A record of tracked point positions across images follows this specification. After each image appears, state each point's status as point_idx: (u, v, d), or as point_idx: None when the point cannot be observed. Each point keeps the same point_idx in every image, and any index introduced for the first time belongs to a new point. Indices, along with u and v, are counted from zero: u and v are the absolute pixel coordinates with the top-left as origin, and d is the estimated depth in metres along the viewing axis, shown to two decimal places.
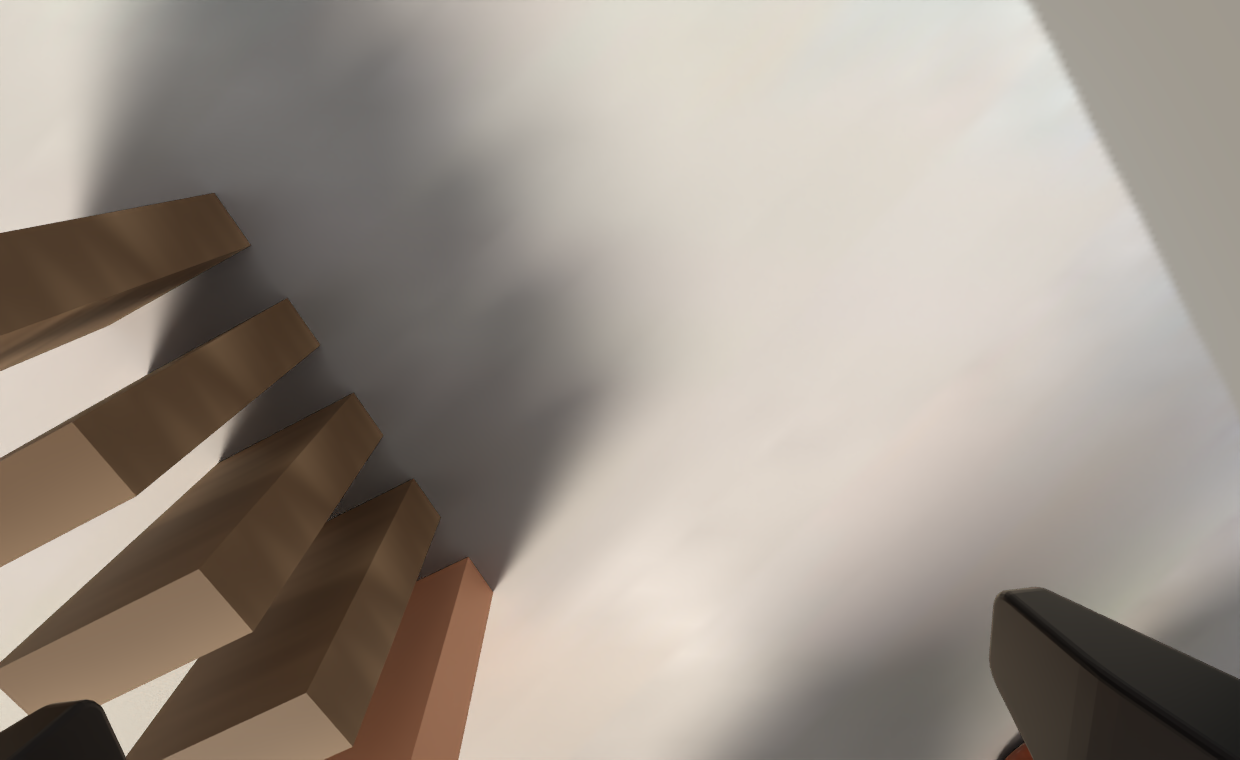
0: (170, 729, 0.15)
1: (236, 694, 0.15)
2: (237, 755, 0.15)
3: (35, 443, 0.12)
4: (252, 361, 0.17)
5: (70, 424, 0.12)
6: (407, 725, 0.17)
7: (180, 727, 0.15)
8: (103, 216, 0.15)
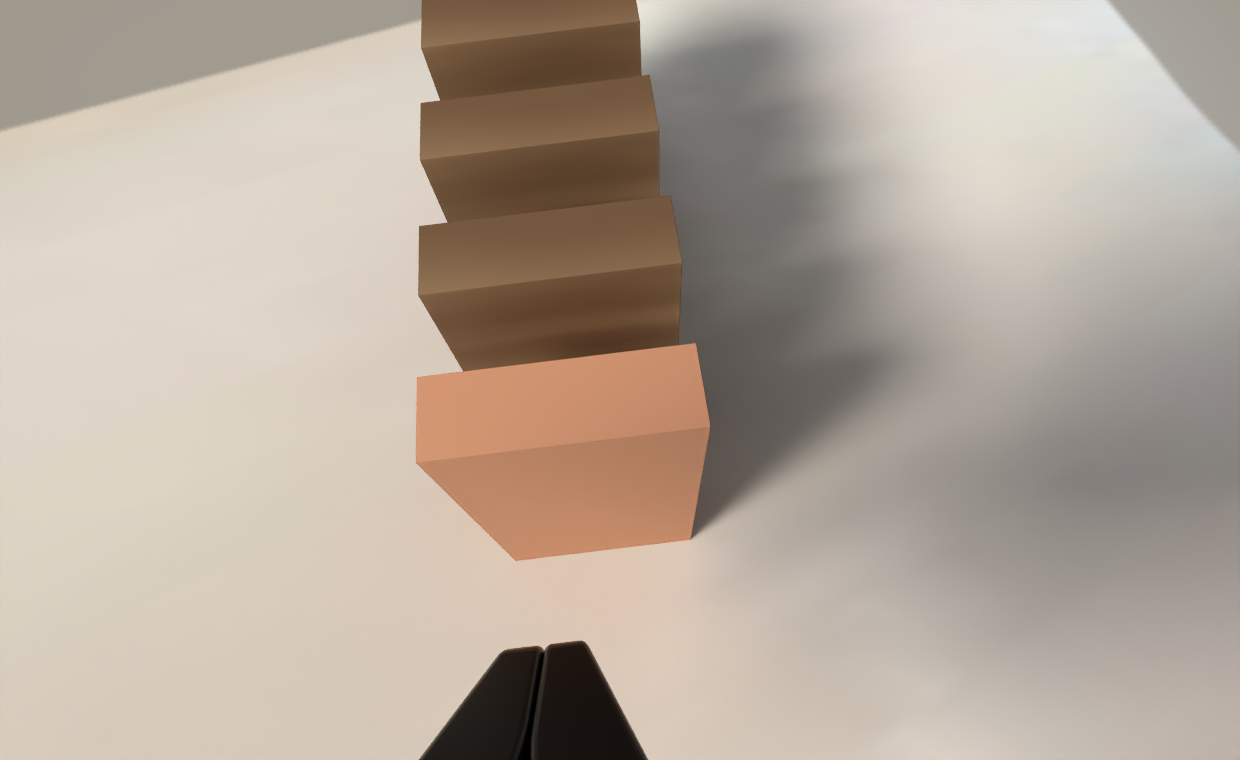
0: None
1: None
2: (564, 236, 0.14)
3: None
4: None
5: None
6: None
7: None
8: None
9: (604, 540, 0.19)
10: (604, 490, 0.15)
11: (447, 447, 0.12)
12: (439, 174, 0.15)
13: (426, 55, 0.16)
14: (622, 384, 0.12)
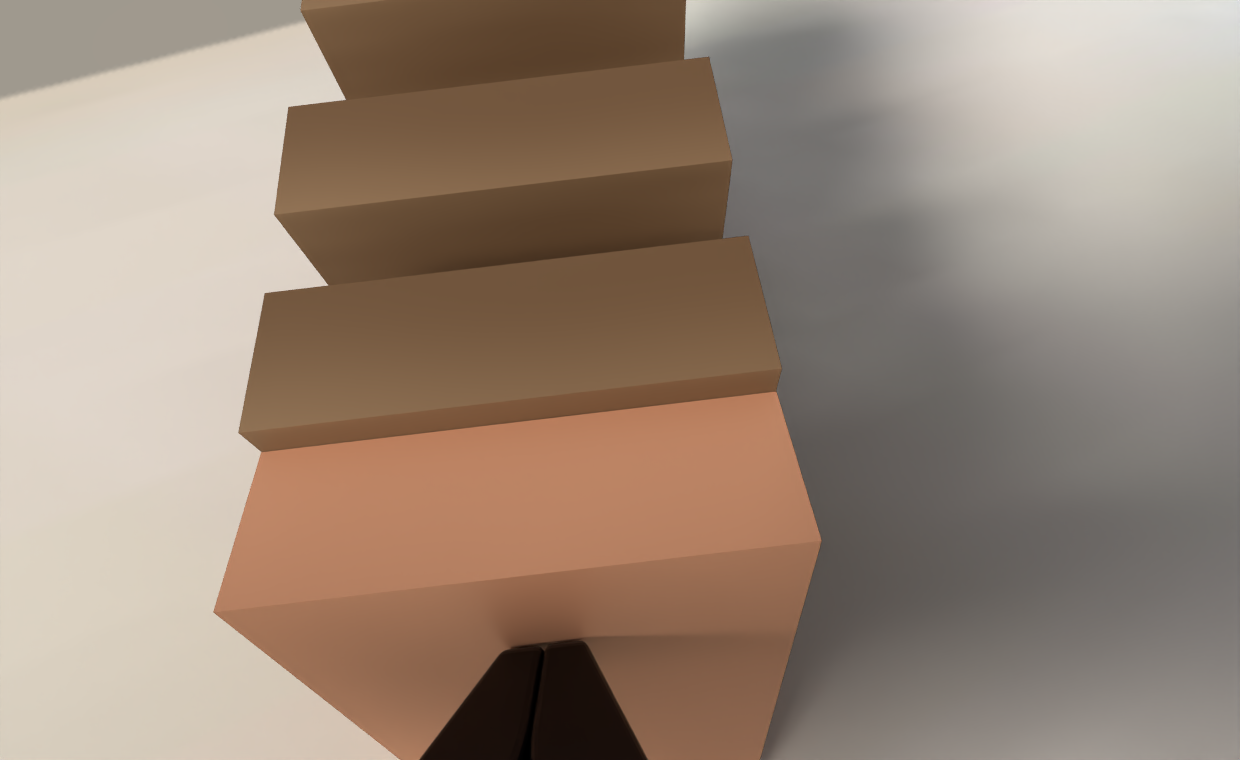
0: None
1: None
2: (542, 312, 0.07)
3: None
4: None
5: None
6: None
7: None
8: None
9: None
10: None
11: (283, 581, 0.06)
12: (318, 238, 0.08)
13: (312, 24, 0.09)
14: (640, 462, 0.06)
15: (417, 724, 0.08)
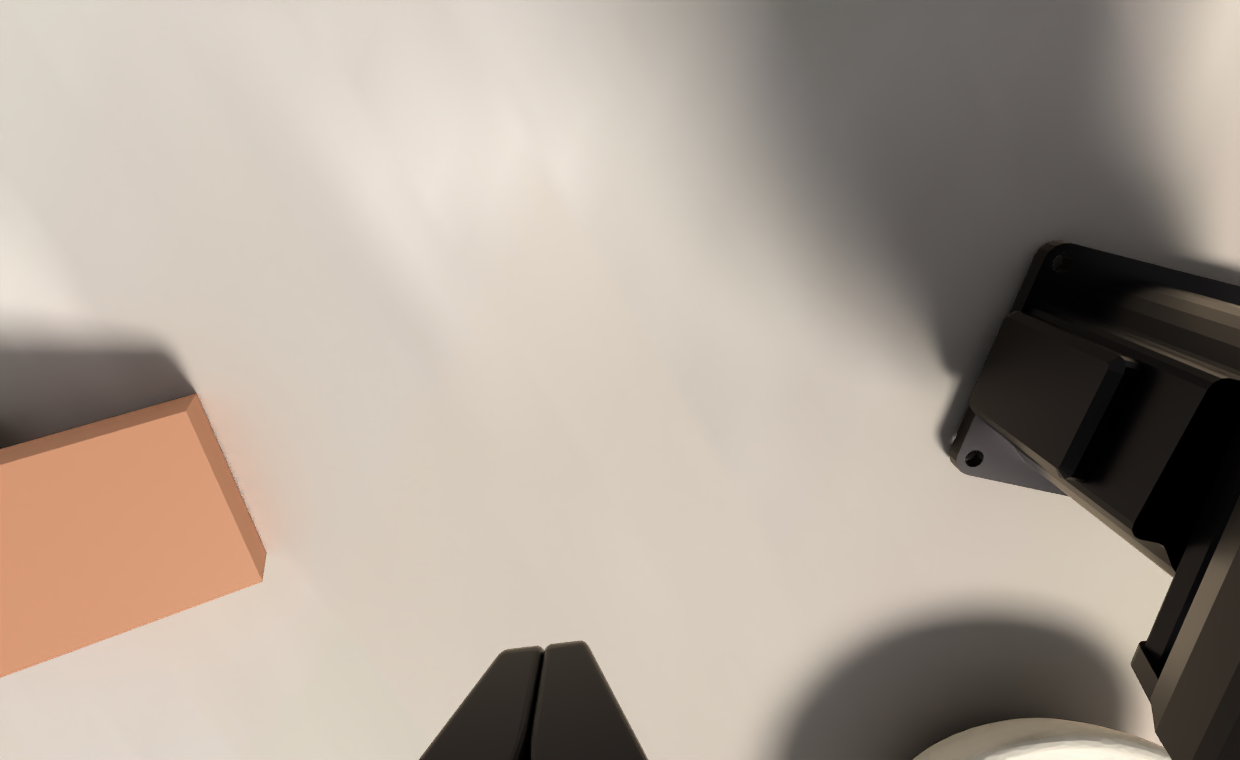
0: None
1: None
2: None
3: None
4: None
5: None
6: None
7: None
8: None
9: (170, 513, 0.18)
10: None
11: None
12: None
13: None
14: None
15: (9, 648, 0.17)
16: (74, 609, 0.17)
